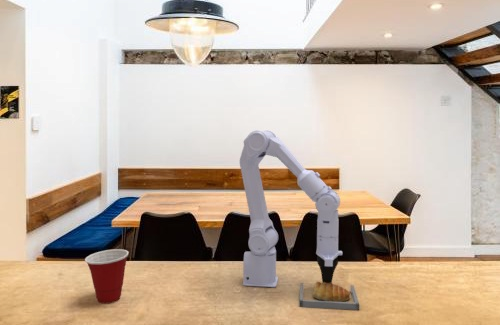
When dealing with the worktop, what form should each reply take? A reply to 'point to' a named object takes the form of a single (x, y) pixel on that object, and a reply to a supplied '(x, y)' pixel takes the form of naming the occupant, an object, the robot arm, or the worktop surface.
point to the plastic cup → (107, 273)
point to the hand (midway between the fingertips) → (326, 284)
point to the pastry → (330, 292)
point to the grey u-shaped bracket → (330, 302)
